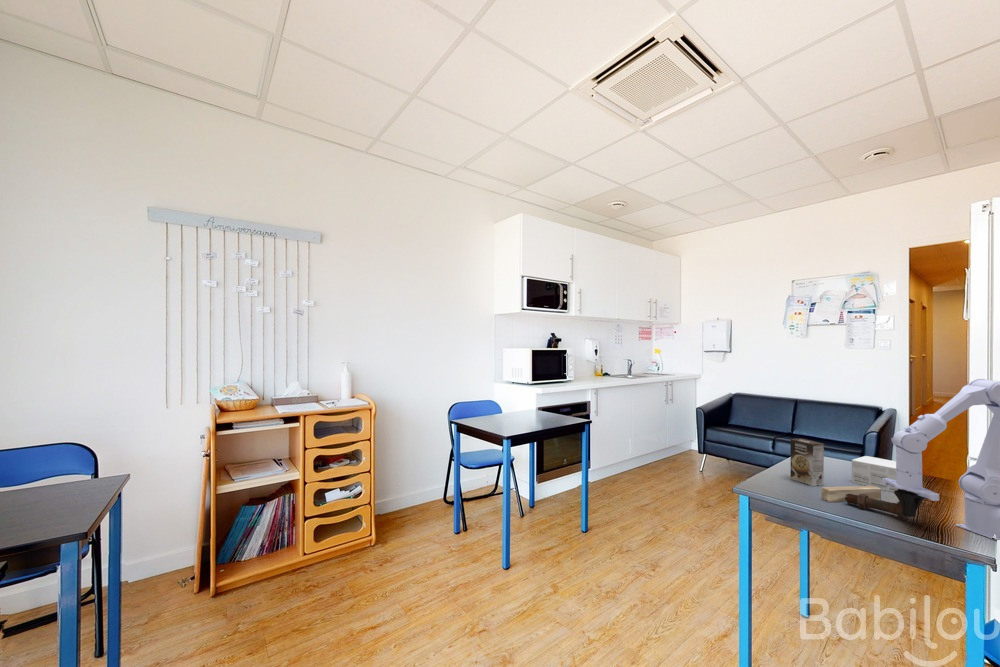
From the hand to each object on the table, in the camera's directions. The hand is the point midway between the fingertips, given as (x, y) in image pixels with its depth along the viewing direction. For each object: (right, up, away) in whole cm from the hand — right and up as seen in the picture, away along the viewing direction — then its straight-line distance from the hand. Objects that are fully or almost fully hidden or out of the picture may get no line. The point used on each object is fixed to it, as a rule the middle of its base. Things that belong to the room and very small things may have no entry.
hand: (909, 516), depth 128 cm
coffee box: (-4, -3, +37) cm, 37 cm away
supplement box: (+23, -3, +33) cm, 40 cm away
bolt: (-3, -2, +9) cm, 9 cm away
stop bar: (-2, -2, +19) cm, 19 cm away
